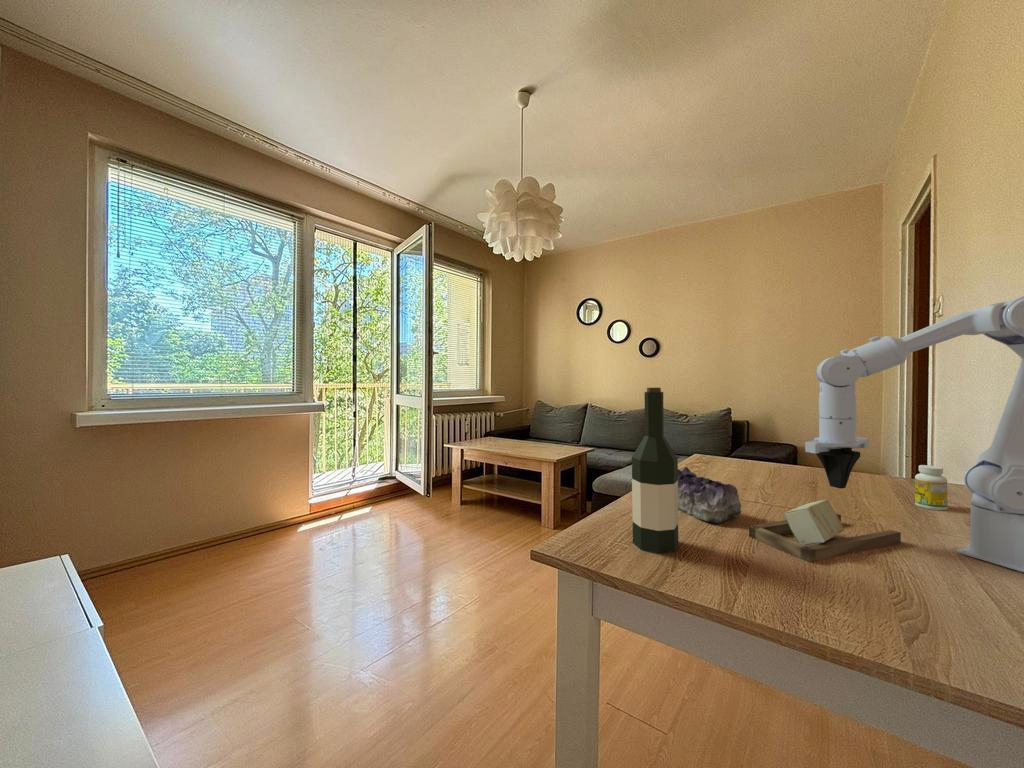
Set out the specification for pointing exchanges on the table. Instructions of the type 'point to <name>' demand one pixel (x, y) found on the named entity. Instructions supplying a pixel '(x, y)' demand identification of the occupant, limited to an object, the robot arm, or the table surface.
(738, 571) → the table surface
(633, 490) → the wine bottle
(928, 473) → the supplement bottle
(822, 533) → the skincare box
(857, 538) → the cradle
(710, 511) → the geode
